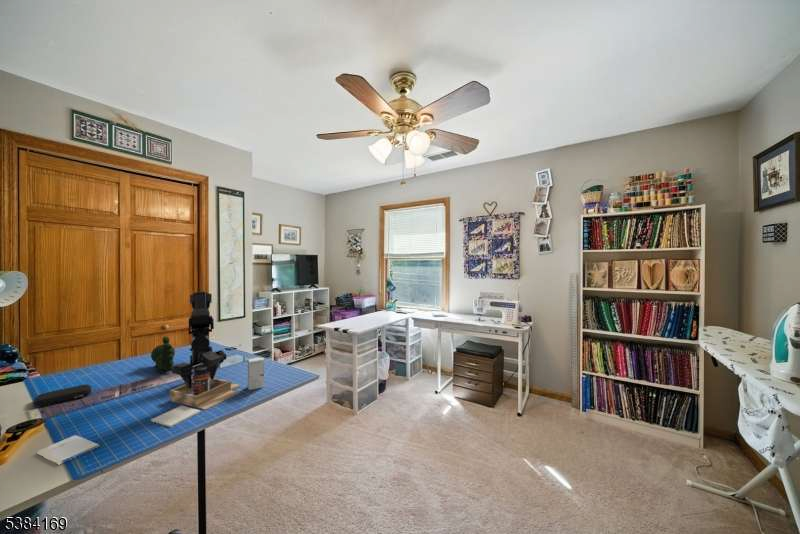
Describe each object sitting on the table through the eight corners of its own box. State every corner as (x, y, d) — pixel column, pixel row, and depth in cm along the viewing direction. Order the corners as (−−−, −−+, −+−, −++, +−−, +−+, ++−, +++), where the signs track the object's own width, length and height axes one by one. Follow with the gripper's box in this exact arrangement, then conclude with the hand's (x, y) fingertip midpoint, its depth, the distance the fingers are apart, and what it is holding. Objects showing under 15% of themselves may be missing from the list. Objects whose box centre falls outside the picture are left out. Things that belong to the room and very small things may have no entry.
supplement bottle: (191, 400, 114) (190, 371, 114) (193, 394, 119) (193, 366, 119) (209, 397, 117) (209, 369, 116) (211, 391, 122) (210, 364, 122)
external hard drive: (59, 468, 78) (36, 456, 83) (99, 449, 86) (76, 439, 90) (58, 462, 78) (36, 450, 82) (99, 443, 86) (76, 434, 90)
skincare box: (248, 390, 123) (248, 362, 122) (247, 386, 126) (247, 359, 126) (264, 387, 126) (264, 359, 126) (262, 383, 130) (262, 356, 129)
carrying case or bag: (32, 411, 105) (91, 397, 116) (31, 403, 105) (91, 390, 116) (35, 401, 113) (91, 389, 123) (35, 393, 112) (90, 382, 123)
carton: (169, 400, 114) (169, 390, 113) (216, 380, 132) (216, 372, 132) (205, 410, 107) (205, 399, 107) (249, 387, 125) (249, 378, 125)
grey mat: (150, 421, 99) (150, 419, 99) (181, 407, 109) (181, 405, 109) (170, 427, 96) (170, 425, 96) (200, 412, 105) (200, 410, 105)
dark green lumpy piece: (179, 376, 140) (172, 358, 158) (179, 338, 138) (172, 324, 156) (154, 382, 134) (149, 362, 152) (153, 342, 132) (149, 327, 150)
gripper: (191, 354, 106) (191, 397, 106) (236, 341, 123) (236, 377, 124) (170, 351, 110) (171, 392, 110) (216, 338, 127) (217, 373, 128)
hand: (201, 383), depth 118 cm, fingers open, 9 cm apart
